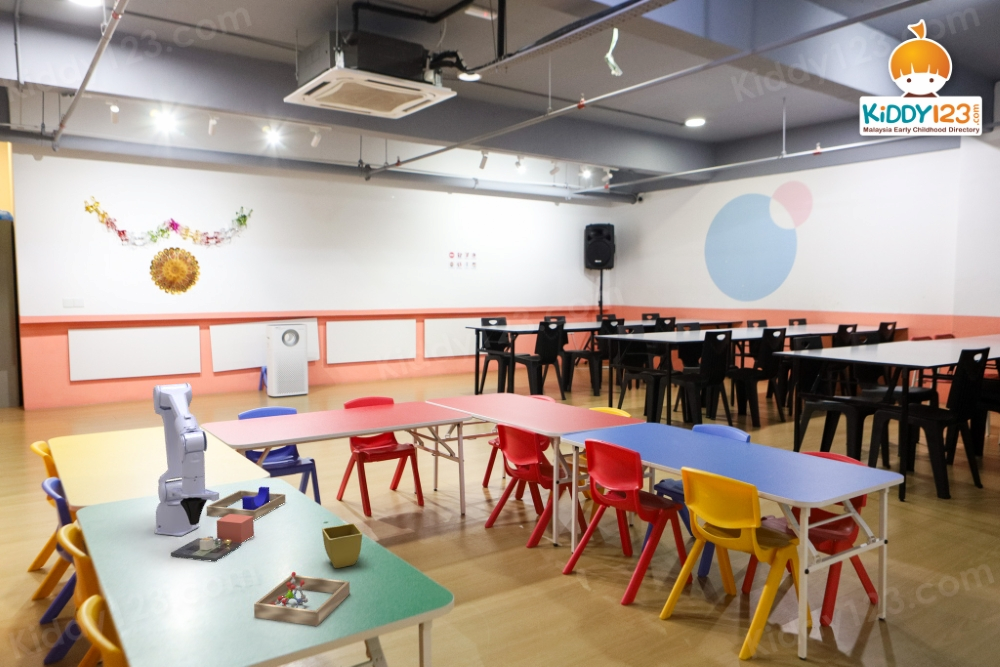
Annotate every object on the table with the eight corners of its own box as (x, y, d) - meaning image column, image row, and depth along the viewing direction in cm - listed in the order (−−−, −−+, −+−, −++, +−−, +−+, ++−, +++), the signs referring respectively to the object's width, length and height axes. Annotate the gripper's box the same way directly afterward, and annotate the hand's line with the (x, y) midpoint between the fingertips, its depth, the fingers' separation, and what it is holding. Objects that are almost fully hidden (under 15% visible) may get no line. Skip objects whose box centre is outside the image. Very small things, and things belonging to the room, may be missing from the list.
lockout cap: (217, 540, 189) (216, 520, 189) (229, 533, 195) (229, 513, 194) (241, 543, 187) (241, 523, 187) (253, 536, 193) (253, 516, 192)
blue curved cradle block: (256, 503, 222) (256, 486, 222) (269, 504, 222) (269, 487, 221) (238, 515, 210) (237, 497, 210) (251, 516, 210) (251, 498, 209)
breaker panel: (170, 556, 178) (170, 548, 178) (198, 541, 189) (198, 533, 188) (215, 561, 175) (215, 553, 175) (241, 546, 185) (241, 538, 185)
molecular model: (299, 597, 155) (298, 567, 155) (312, 610, 149) (312, 579, 149) (268, 606, 151) (268, 575, 150) (281, 620, 145) (280, 587, 144)
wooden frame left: (206, 515, 210) (206, 506, 209) (240, 498, 226) (240, 490, 226) (254, 520, 206) (254, 511, 205) (285, 503, 222) (285, 494, 222)
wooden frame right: (254, 617, 146) (254, 604, 146) (291, 586, 161) (291, 574, 161) (317, 625, 142) (317, 612, 142) (349, 593, 157) (349, 581, 157)
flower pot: (329, 573, 168) (329, 539, 168) (321, 560, 176) (321, 528, 175) (363, 566, 172) (362, 533, 172) (354, 554, 180) (354, 522, 180)
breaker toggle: (199, 549, 180) (199, 539, 179) (205, 546, 182) (205, 536, 182) (207, 550, 179) (207, 540, 179) (213, 547, 181) (213, 537, 181)
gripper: (160, 477, 178) (161, 526, 179) (206, 481, 174) (207, 531, 175) (178, 470, 184) (179, 517, 186) (223, 474, 181) (224, 522, 182)
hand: (194, 523), depth 181 cm, fingers closed
